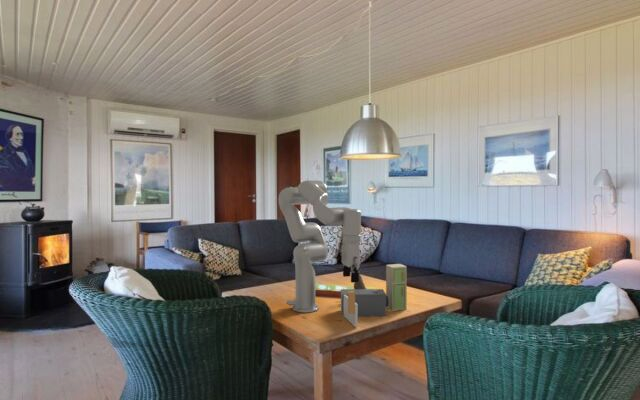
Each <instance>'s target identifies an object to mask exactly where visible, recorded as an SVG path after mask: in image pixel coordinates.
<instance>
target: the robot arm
mask: <svg viewBox="0 0 640 400" xmlns="http://www.w3.org/2000/svg"><path fill="white" fill-rule="evenodd" d="M329 198H330V197H329V194H328V188H327V185H326V183H325V182H323V181H322V180H303V181H301V182H300V183H299V184H298V186H297V187H285V188H284V189H282V190H281V191H280V192H279V193H278V206H279V209H280V211H281V213H282V215H283V217H284V219H285V222H286V225H287V228H288V232H289V235H290V237H291V238H290V239H291V240H292V242H294V243H299V244H298V245H296V246H295V247H294V249H293V250H292V251H293V252H292V253H293V254H292V255H293V259H294V265H295V267H294V269H295V298H294V299H287V300H286V301H285V302H286V303H285V304H286V305H288V306H292V310H293V311H295V312H296V313H306V314H308V313H312V312H317V311H318V310H319V305H318V304H317V303H316V271H315V268H314V266H313V264H312V263H319V262H323V261H326V259H327V258H328V255H329V251H328V247H327V242H326V240H325V237H324V235H323V231H322V229H321V227H320V225H319V224H318V223H316V222H311V221H310V222H305V220H304V217H303V215H302V214H303V213H302V212H301V211H300V210H299V209H298V208H297V207H296V206H295V205H309V204H310V205H311V206H312V211H313V214H314V216H315V218H316V219H318V221H320V222H321V223H322V224H324V225H326V226H331V227H332V226H339V225H340V226H342V248H341V249H342V250H341V262H340V263H342V276H343V277H344V278H345V277H350V283H353V284H354V283H355V282H359V275H360V274H359V271H360V266H361V263H360V262H361V261H360V260H361V259H360V257H361V255H360V252H361V249H360V243H361V242H362V241H361V239H362V233H361V232H362V211H361V210H360V209H358V208H350V207H345V206H342V207H328V206H327V205H328V203H329Z"/></svg>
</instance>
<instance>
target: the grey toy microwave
mask: <svg viewBox="0 0 640 400" xmlns="http://www.w3.org/2000/svg"><path fill="white" fill-rule="evenodd" d="M348 291H354V292H355V303H357V304H358V317H386V316H387V307H388V304H389V301H388V296H386V291H385V290H384V288H379V289H378V288H366V289H354V288H353V289H352V288H351V289H350V288H349V289H347V288H345V289H343V288H341V289H340V311H341V316H342V317H344V316H343V313H344V295H347V296H348Z"/></svg>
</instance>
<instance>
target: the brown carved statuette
mask: <svg viewBox="0 0 640 400" xmlns="http://www.w3.org/2000/svg"><path fill="white" fill-rule="evenodd" d="M353 289H367V288H366V285H365V283H364V280H363V277H362V276H361V271H360V270H359V282H353Z"/></svg>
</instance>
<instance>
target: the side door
mask: <svg viewBox="0 0 640 400" xmlns="http://www.w3.org/2000/svg"><path fill="white" fill-rule="evenodd" d="M342 317H344V318H345V319H346V320H347V321H348V322H349V323H351V324H352V326H354V327H355V328H357V327H358V326H359V324H358V321H359V320H358V317H359V316H358V304H357V303H355V292H354V291H348V296H347V295H344V313H343V316H342Z"/></svg>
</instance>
